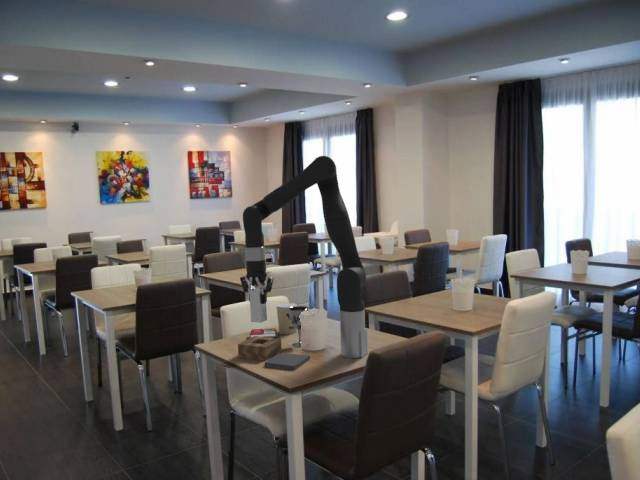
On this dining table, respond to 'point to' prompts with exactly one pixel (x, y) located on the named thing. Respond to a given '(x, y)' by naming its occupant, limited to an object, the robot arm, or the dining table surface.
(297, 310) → the wine glass
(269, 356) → the socket block
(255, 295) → the peg
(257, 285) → the robot arm
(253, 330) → the calculator
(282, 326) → the coffee cup
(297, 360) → the mat
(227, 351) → the dining table surface
